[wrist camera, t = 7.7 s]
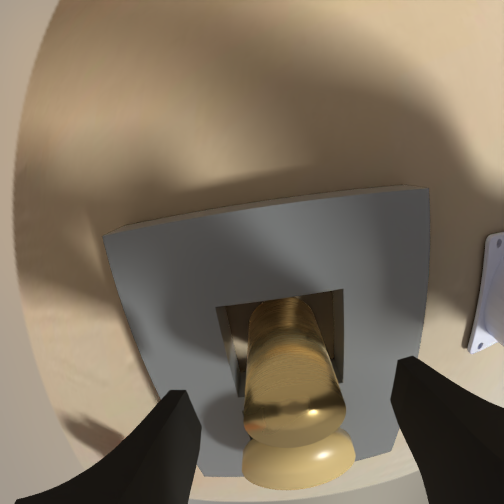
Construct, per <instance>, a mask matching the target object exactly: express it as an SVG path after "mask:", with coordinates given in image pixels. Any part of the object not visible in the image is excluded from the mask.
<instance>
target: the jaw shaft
mask: <svg viewBox="0 0 504 504" xmlns="http://www.w3.org/2000/svg"><path fill="white" fill-rule="evenodd" d="M345 416H346V405H345V402H344V399H343V396H342V393H341V390H340V387H339V384H338V381H337V378H336V375H335V372H334V369H333V366H332V363H331V361H330V358H329V355H328V352H327V349H326V346H325V344H324V341H323V338H322V335H321V333H320V330H319V327H318V324H317V322H316V319H315V316H314V314H313V311H312V310H311V308H310V307H309V306H308V305H307V304H306V303H305V302H303V301H302V300H300V299H297V298H294V297H288V298H281V299H274V300H267V301H264V302H262V303H261V304H260V305H259V306H258V307H257V308H256V309H255V310H254V311H253V313H252V315H251V317H250V321H249V333H248V350H247V368H246V385H245V403H244V420H243V423H244V427H245V430H246V431H247V433H248V434H249V435H250V436H251V437H252V438H253V439H255V440H257V441H258V442H260V443H263V444H265V445H268V446H273V447H279V448H295V447H302V446H306V445H310V444H313V443H316V442H318V441H321V440H323V439H325V438H326V437H328V436H329V435H331V434H332V433H333V432H335V431H336V430H337V429H338V428H339V427H340V425H341V424H342V422H343V421H344V419H345Z"/></svg>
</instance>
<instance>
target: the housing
mask: <svg viewBox="0 0 504 504" xmlns="http://www.w3.org/2000/svg"><path fill="white" fill-rule="evenodd" d="M102 237H103V241H104V245H105V249H106V253H107V257H108V260H109V264H110V267H111V271H112V274H113V278H114V281H115V284H116V288H117V291H118V294H119V297H120V300H121V303H122V306H123V309H124V312H125V315H126V318H127V320H128V323H129V326H130V329H131V331H132V334H133V337H134V339H135V342H136V344H137V347H138V349H139V352H140V354H141V357H142V359H143V361H144V364H145V366H146V368H147V371H148V373H149V375H150V377H151V380H152V382H153V384H154V386H155V388H156V390H157V393H158V395H159V397H160V399H162V398H163V397H164V396H165V395H166V394H167V392H168V391H169V390H186V391H187V393H188V395H189V398H190V400H191V403H192V405H193V407H194V410H195V412H196V414H197V417H198V419H199V421H200V423H201V425H202V430H201V443H200V451H199V456H198V460H197V466H198V467H199V469H200V470H201V472H202V473H203V475H204V476H208V477H245V478H246V479H247V480H249V481H250V482H252V483H253V484H255V485H258V486H261V487H264V488H269V489H275V490H298V489H305V488H310V487H314V486H318V485H321V484H324V483H327V482H329V481H331V480H333V479H335V478H337V477H339V476H340V475H342V474H343V473H345V472H346V471H347V470H348V469H349V468H350V467H351V466H352V464H353V463H354V461H358V460H362V459H366V458H370V457H373V456H377V455H380V454H383V453H387V452H390V451H391V450H392V447H393V445H394V442H395V439H396V436H397V433H398V430H399V425H398V423H397V420H396V417H395V414H394V411H393V408H392V405H391V401H390V398H391V393H392V388H393V383H394V378H395V372H396V366H397V360H399V359H402V358H406V357H409V356H414V357H416V358H417V359H418V354H419V348H420V343H421V337H422V330H423V324H424V317H425V309H426V300H427V289H428V277H429V260H430V202H429V188H424V187H418V186H411V185H396V186H384V187H373V188H363V189H353V190H344V191H335V192H326V193H318V194H310V195H302V196H294V197H287V198H280V199H273V200H266V201H259V202H252V203H246V204H239V205H233V206H227V207H221V208H215V209H209V210H203V211H198V212H192V213H187V214H181V215H176V216H170V217H165V218H160V219H155V220H150V221H145V222H140V223H135V224H131V225H126V226H122V227H120V228H118V229H116V230H114V231H112V232H109V233H107V234H105V235H103V236H102ZM326 291H332V292H333V315H334V359H330V361H331V363H332V366H333V369H334V372H335V375H336V378H337V381H338V384H339V387H340V390H341V393H342V396H343V399H344V402H345V405H346V416H345V419H344V421H343V422H342V424H341V425H340V427H339V428H338V429H337V430H336V431H335V432H333V433H332V434H331V435H329V436H328V437H326V438H325V439H323V440H321V441H318V442H316V443H313V444H310V445H306V446H302V447H295V448H279V447H273V446H268V445H265V444H263V443H260V442H258V441H257V440H255V439H253V438H252V437H251V436H250V435H249V434H248V433H247V431H246V430H245V427H244V423H243V420H244V403H245V385H246V371H245V372H240V369H239V364H238V360H237V356H236V352H235V348H234V343H233V339H232V335H231V330H230V326H229V321H228V317H227V312H226V308H225V306H228V305H236V304H244V303H252V302H259V301H267V300H274V299H281V298H288V297H295V296H301V295H308V294H314V293H320V292H326Z"/></svg>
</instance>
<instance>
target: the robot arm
mask: <svg viewBox="0 0 504 504" xmlns="http://www.w3.org/2000/svg"><path fill="white" fill-rule="evenodd" d="M497 342H499V343H500V344H501V345H503V346H504V232H500V233H495V234H491V235H489V236H488V237H487V239H486V243H485V254H484V264H483V273H482V280H481V287H480V294H479V299H478V305H477V310H476V315H475V320H474V324H473V329H472V333H471V337H470V341H469V344H468V349H467V350H468V352H469V353H470V354H474V353H476V352H478V351H480V350H483V349H485V348H487V347H489V346H491V345H493V344H495V343H497ZM390 401H391V405H392V408H393V411H394V414H395V417H396V420H397V423H398V425H399V427H400V429H401V431H402V433H403V436H404V438H405V440H406V442H407V444H408V446H409V448H410V450H411V452H412V454H413V457H414V459H415V461H416V463H417V465H418V468H419V470H420V473H421V475H422V479H423V482H424V486H425V489H426V493H427V496H428V501H429V504H504V408H502V407H500V406H497V405H495V404H492V403H490V402H488V401H486V400H484V399H482V398H480V397H478V396H476V395H474V394H473V393H471V392H469V391H467V390H465V389H464V388H462V387H460V386H459V385H457V384H455V383H454V382H452V381H451V380H449V379H448V378H446V377H445V376H443V375H441V374H440V373H438V372H437V371H435V370H434V369H432V368H431V367H430V366H428V365H427V364H425V363H424V362H422V361H421V360H419V359H417V358H416V357H414V356H409V357H406V358H402V359H399V360H397V366H396V372H395V378H394V383H393V388H392V393H391V398H390ZM201 430H202V425H201V423H200V421H199V419H198V417H197V414H196V412H195V410H194V407H193V405H192V403H191V400H190V398H189V395H188V393H187V391H186V390H169V391H168V392H167V394H166V395H165V396H164V397H163V398H162V399H161V400H160V402H159V403H158V404H157V405H156V406H155V407H154V408H153V410H152V411H151V412H150V413H149V414H148V415H147V416H146V417H145V419H144V420H143V421H142V422H141V423H140V424H139V425H138V426H137V427H136V428H135V429H134V430H133V431H132V432H131V433H130V434H129V435H128V436H127V437H126V438H125V439H124V440H123V441H122V442H121V443H120V444H119V445H118V446H117V447H116V448H115V449H114V450H112V451H111V452H110V453H109V454H108V455H106V456H105V457H104V458H103V459H101V460H100V461H99V462H97V463H96V464H95V465H93V466H92V467H90V468H89V469H87V470H86V471H84V472H82V473H81V474H79V475H78V476H76V477H74V478H72V479H71V480H69V481H67V482H65V483H63V484H61V485H59V486H57V487H54V488H52V489H49V490H47V491H44V492H42V493H39V494H35V495H32V496H28V497H25V498H21V499H17V500H16V502H15V504H188V499H189V495H190V490H191V486H192V482H193V478H194V473H195V469H196V465H197V460H198V456H199V451H200V443H201Z"/></svg>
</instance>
